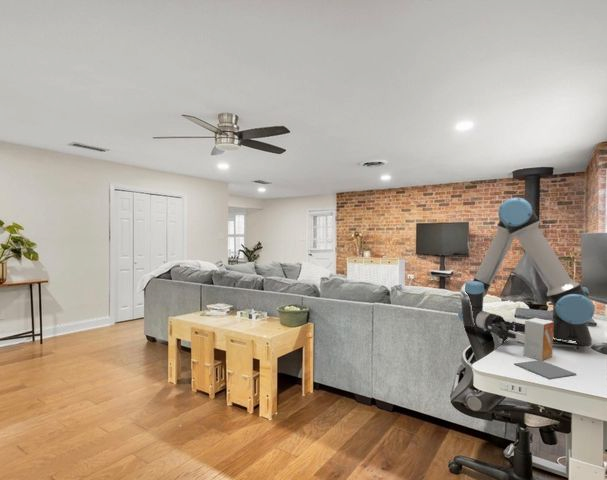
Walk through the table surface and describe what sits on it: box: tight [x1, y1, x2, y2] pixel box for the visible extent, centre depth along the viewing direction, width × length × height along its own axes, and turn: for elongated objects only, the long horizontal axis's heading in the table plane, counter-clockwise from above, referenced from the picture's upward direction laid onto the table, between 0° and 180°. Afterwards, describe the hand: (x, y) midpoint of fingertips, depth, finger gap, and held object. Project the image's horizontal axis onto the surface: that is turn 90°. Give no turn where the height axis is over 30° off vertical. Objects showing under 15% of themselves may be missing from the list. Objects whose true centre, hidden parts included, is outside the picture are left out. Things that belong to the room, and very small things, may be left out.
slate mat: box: [514, 359, 577, 380], centre depth 115 cm, size 12×12×1 cm
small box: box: [522, 317, 554, 361], centre depth 127 cm, size 8×6×13 cm
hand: (539, 337), depth 127 cm, fingers open, 13 cm apart
